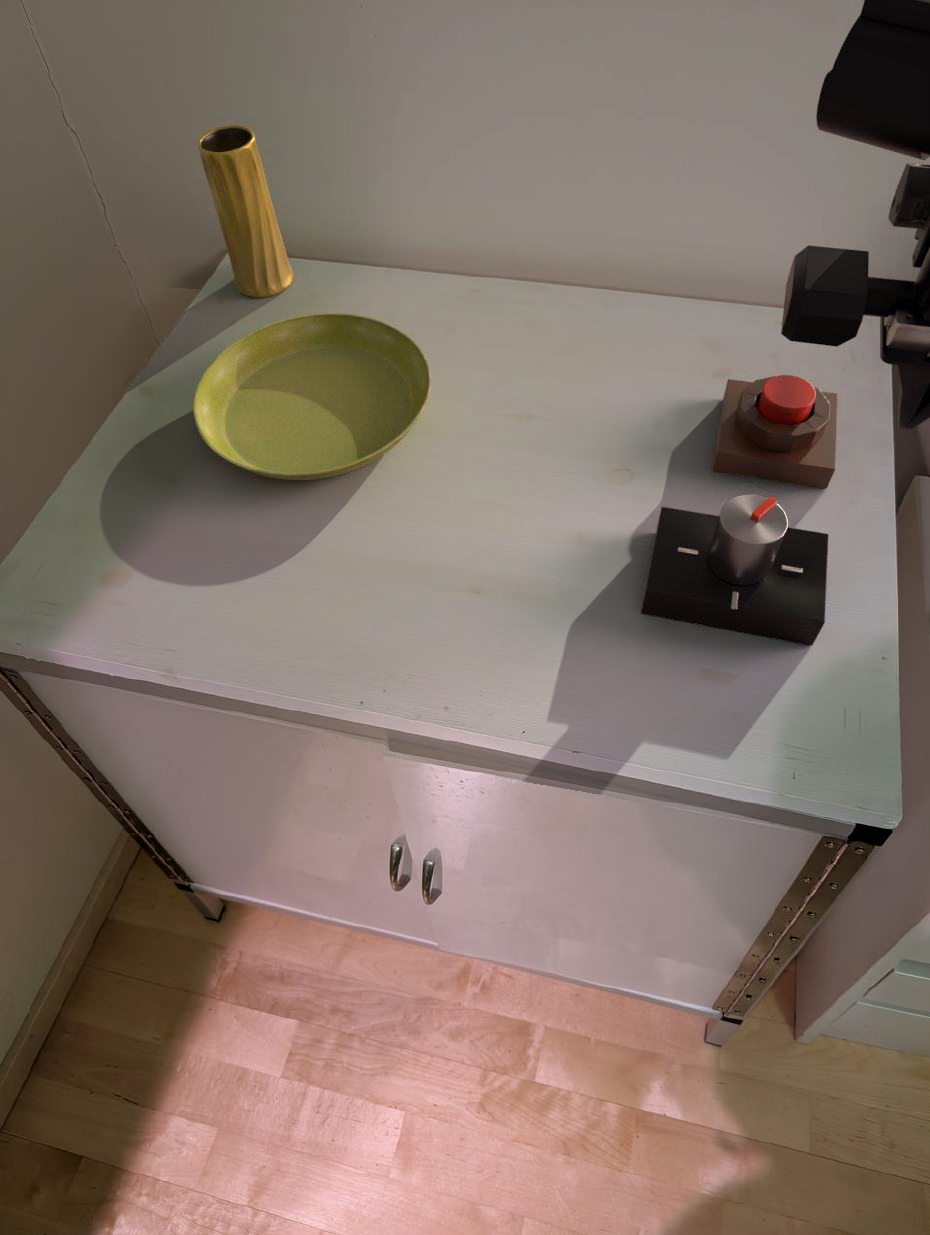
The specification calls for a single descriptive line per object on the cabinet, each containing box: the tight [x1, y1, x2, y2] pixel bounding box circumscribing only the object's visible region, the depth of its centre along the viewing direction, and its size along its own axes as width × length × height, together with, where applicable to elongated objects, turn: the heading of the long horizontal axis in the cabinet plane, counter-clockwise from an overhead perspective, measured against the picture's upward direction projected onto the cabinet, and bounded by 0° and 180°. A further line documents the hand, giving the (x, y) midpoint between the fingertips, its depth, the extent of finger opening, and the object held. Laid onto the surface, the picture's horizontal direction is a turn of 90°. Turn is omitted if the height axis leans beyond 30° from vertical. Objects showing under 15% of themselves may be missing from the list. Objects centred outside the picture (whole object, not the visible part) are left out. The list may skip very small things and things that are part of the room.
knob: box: [708, 494, 789, 585], centre depth 57 cm, size 4×4×5 cm
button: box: [758, 374, 816, 425], centre depth 66 cm, size 4×4×2 cm
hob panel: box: [640, 506, 829, 647], centre depth 61 cm, size 12×9×3 cm
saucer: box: [192, 312, 432, 481], centre depth 73 cm, size 21×21×3 cm
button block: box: [711, 375, 839, 490], centre depth 68 cm, size 9×9×4 cm
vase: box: [196, 124, 295, 298], centre depth 81 cm, size 6×6×14 cm
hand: (904, 424), depth 54 cm, fingers closed
